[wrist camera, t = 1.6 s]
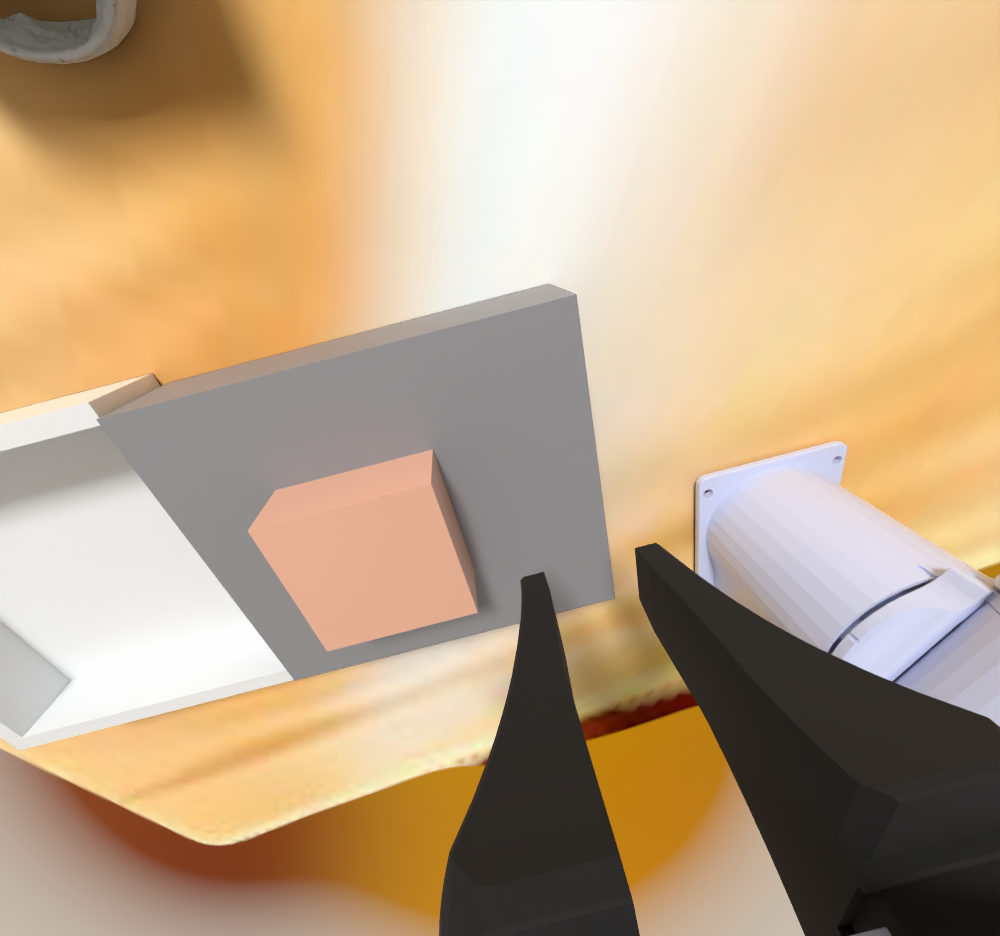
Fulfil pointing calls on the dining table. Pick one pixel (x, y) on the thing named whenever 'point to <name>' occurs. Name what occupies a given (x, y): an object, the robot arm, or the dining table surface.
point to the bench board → (393, 457)
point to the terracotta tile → (369, 551)
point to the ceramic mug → (67, 34)
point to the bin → (103, 585)
